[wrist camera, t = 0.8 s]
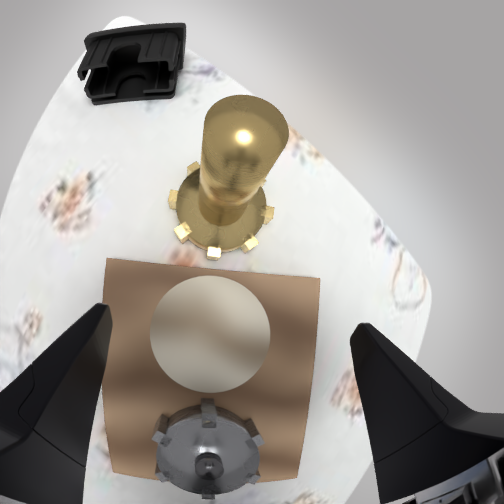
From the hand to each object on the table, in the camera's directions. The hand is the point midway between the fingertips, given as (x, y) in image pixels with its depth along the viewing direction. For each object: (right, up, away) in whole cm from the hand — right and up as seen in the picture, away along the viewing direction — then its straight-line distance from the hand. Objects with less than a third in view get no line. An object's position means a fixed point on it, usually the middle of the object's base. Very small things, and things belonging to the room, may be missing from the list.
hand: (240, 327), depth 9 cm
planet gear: (-2, +6, +14) cm, 15 cm away
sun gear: (-3, -13, +9) cm, 16 cm away
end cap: (-12, +21, +14) cm, 28 cm away
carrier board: (-3, -9, +11) cm, 15 cm away
